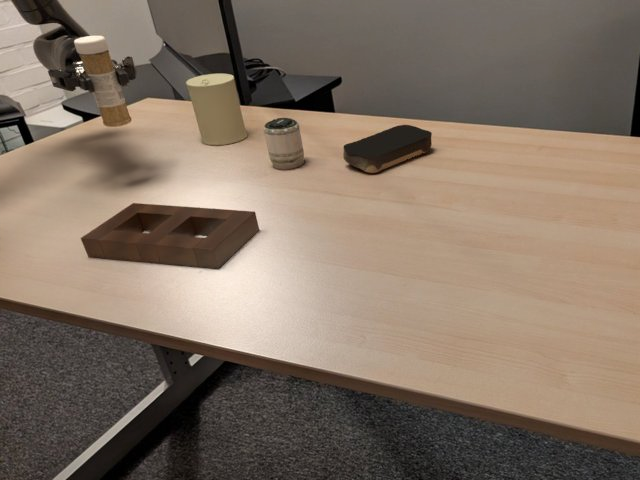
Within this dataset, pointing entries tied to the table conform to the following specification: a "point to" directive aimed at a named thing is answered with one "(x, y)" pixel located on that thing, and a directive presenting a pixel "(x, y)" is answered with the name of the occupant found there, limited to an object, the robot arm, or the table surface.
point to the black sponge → (387, 148)
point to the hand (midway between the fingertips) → (107, 82)
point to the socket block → (172, 235)
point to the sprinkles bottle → (103, 80)
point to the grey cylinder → (284, 143)
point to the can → (217, 109)
